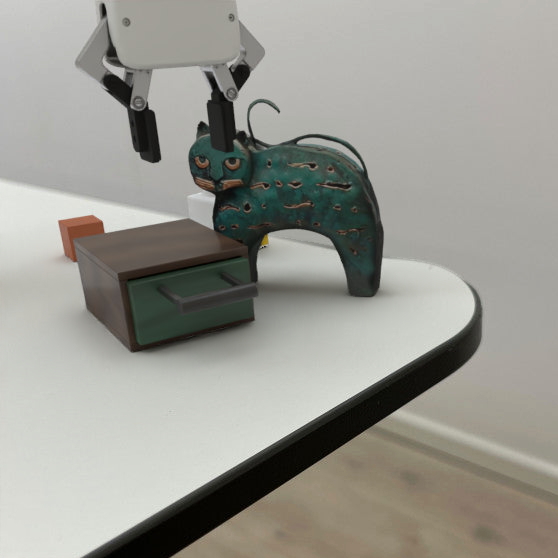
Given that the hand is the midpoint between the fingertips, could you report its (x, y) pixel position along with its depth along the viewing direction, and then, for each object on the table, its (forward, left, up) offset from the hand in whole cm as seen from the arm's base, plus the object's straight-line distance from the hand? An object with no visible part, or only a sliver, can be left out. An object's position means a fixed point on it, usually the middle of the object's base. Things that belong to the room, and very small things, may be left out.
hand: (187, 153), depth 63 cm
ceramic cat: (+14, +10, -18) cm, 25 cm away
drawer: (0, +6, -17) cm, 18 cm away
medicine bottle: (+15, +29, -18) cm, 38 cm away
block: (-1, +39, -18) cm, 43 cm away
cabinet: (0, +11, -18) cm, 21 cm away
